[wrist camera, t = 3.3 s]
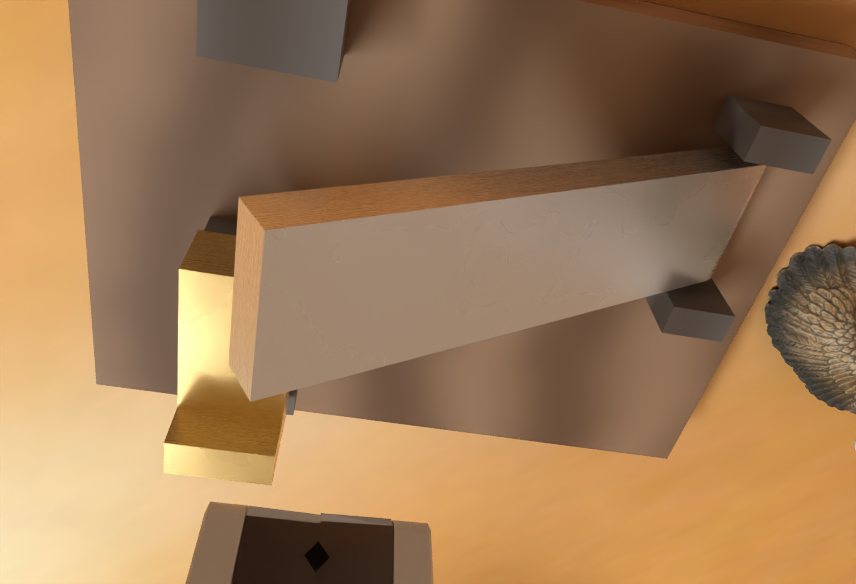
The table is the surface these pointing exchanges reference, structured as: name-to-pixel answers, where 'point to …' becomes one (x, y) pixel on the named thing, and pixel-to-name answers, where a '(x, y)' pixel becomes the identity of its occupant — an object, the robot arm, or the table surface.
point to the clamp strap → (466, 258)
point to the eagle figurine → (818, 322)
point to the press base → (441, 156)
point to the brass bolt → (216, 379)
